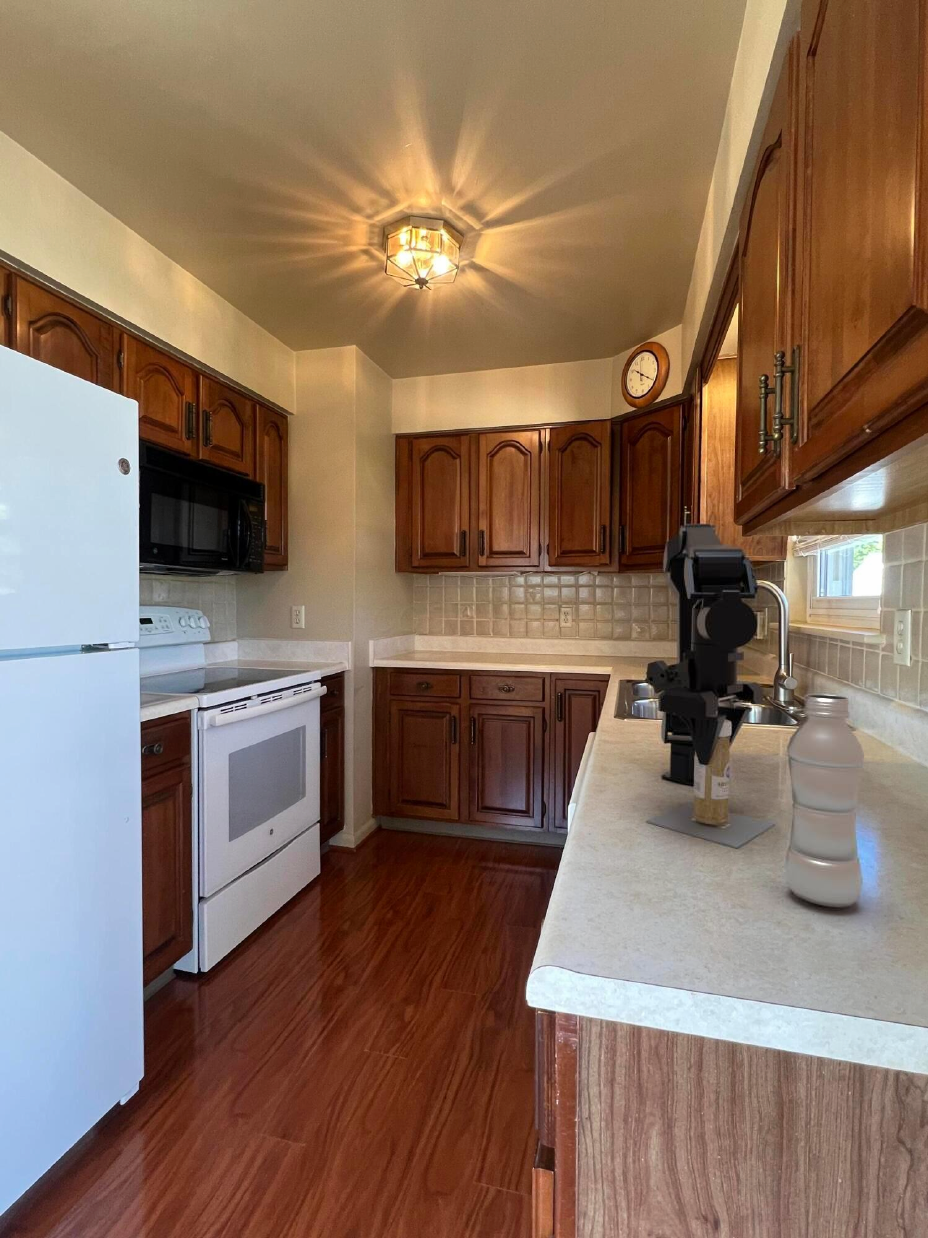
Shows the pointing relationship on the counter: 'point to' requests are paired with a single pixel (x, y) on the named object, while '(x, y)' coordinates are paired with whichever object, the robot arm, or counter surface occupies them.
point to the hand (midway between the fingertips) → (711, 761)
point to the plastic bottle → (824, 805)
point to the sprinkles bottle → (713, 782)
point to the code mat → (712, 826)
